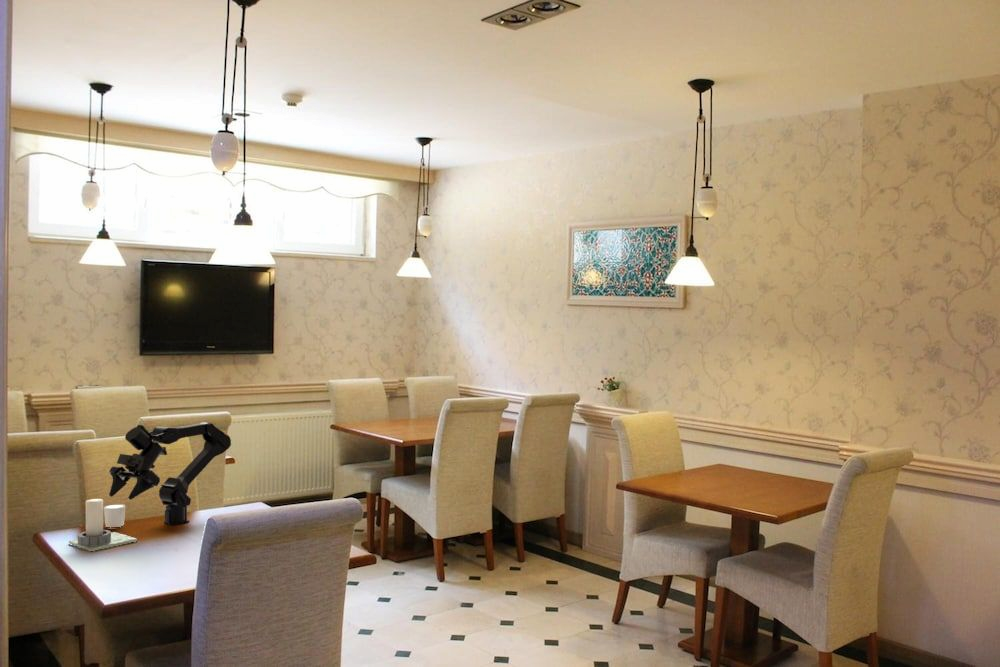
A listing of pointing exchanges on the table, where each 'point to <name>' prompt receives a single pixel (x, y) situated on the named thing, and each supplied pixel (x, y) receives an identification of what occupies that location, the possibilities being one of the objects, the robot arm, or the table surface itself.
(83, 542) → the grey ring base plate
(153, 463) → the robot arm
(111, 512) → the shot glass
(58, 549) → the table surface
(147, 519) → the table surface
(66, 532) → the table surface
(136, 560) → the table surface
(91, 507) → the post
